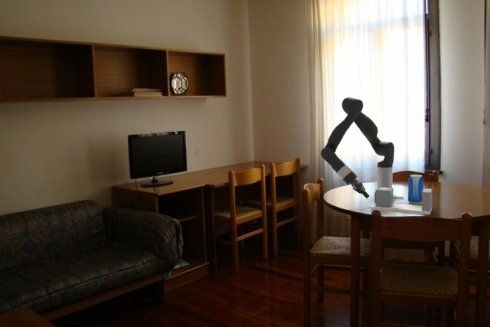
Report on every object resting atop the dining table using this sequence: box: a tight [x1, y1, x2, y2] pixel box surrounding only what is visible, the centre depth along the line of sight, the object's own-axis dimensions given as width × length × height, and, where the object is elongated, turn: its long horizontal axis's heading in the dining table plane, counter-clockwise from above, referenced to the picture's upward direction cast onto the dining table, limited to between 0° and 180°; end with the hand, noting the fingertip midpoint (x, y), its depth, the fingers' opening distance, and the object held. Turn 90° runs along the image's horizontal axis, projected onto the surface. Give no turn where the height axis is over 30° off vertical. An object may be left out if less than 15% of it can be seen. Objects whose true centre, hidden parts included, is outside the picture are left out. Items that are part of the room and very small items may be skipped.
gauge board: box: [370, 187, 433, 215], centre depth 247 cm, size 12×30×12 cm, turn 63°
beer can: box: [407, 174, 425, 205], centre depth 261 cm, size 8×8×16 cm
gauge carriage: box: [374, 187, 405, 207], centre depth 249 cm, size 10×15×9 cm, turn 63°
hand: (368, 197), depth 255 cm, fingers closed
